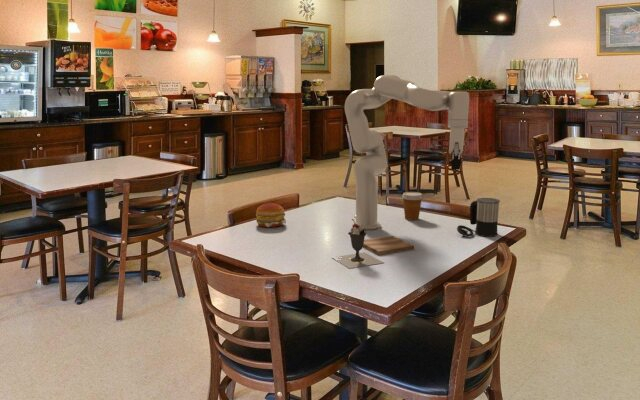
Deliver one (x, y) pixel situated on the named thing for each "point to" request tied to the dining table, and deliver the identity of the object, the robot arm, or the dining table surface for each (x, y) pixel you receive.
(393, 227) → the dining table surface
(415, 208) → the disposable coffee cup
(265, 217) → the burger
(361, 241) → the sundae
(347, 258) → the card
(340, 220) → the dining table surface
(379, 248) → the board
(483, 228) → the milk frother
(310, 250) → the dining table surface
